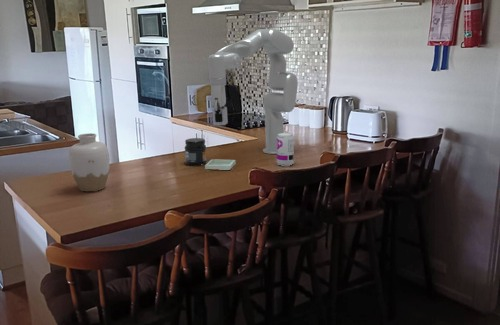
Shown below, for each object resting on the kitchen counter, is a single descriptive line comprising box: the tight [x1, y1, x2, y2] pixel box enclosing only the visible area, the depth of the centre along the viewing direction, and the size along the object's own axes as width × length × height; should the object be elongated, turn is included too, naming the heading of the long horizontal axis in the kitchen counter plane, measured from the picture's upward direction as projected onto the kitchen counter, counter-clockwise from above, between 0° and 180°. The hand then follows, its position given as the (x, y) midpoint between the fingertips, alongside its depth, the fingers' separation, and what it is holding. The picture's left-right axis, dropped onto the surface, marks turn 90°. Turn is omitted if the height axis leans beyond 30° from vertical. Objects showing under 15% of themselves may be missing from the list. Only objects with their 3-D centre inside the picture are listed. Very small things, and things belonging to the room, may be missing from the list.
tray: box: [204, 158, 237, 170], centre depth 232 cm, size 12×12×2 cm
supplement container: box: [184, 137, 208, 166], centre depth 239 cm, size 10×10×12 cm
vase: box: [68, 133, 111, 192], centre depth 200 cm, size 16×16×23 cm
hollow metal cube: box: [211, 106, 229, 126], centre depth 227 cm, size 6×6×8 cm
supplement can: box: [276, 132, 295, 167], centre depth 233 cm, size 8×8×15 cm
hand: (220, 120), depth 227 cm, fingers closed on hollow metal cube, 5 cm apart
